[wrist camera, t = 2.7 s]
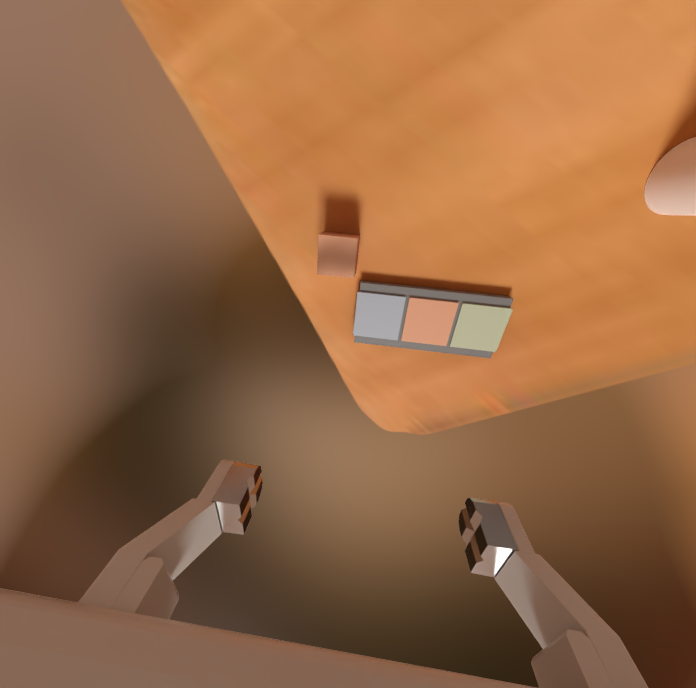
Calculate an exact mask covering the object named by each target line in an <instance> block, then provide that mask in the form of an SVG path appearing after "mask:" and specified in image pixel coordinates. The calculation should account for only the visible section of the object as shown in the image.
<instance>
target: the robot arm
mask: <svg viewBox="0 0 696 688" xmlns="http://www.w3.org/2000/svg"><path fill="white" fill-rule="evenodd" d="M261 472H262V470H261V466H259V465H253V464H247V463H242V462H236V461H230V460H222V461H221V462H220V463H219V464H218V466H217V467H216V469H215V471H214V472H213V474H212V475H211V477H210V479H209V480H208V482H207V483H206V485H205V486H204V488H203V490H202V491H201V493H200V494H199V496H198V497H197V499H191V500H190V501H188V502H187V503H185V504H184V505H183V506H181V507H180V508H178V509H177V510H176V511H174V512H172V513H171V514H170V515H168V516H167V517H165V518H164V519H162V520H161V521H159V522H158V523H156V524H155V525H154V526H152V527H151V528H149V529H148V530H146V531H145V532H143V533H142V534H141V535H139V536H138V537H136V538H135V539H133V540H132V541H130V542H129V543H127V544H126V545H125V546H123V547H122V548H120V549H119V550H118V551H117V553H116V554H115V555H114V557H113V558H112V559H111V560H110V562H109V563H108V564H107V566H106V567H105V568H104V570H103V571H102V572H101V574H100V575H99V576H98V578H97V579H96V580H95V581H94V583H93V584H92V585H91V586H90V588H89V589H88V590H87V592H86V593H85V594H84V596H83V597H82V598H81V599H80V601H79V602H78V603H77V602H71V601H66V600H61V599H55V598H49V597H44V596H38V595H33V594H28V593H22V592H17V591H12V590H6V589H0V688H535V687H529V686H524V685H519V684H514V683H508V682H502V681H497V680H492V679H486V678H481V677H475V676H470V675H465V674H459V673H454V672H448V671H443V670H438V669H433V668H427V667H422V666H416V665H411V664H406V663H400V662H395V661H389V660H384V659H378V658H373V657H368V656H362V655H357V654H352V653H346V652H341V651H336V650H330V649H325V648H319V647H314V646H308V645H303V644H298V643H292V642H287V641H282V640H276V639H270V638H265V637H259V636H255V635H249V634H244V633H238V632H233V631H227V630H222V629H216V628H211V627H206V626H201V625H195V624H190V623H185V622H179V621H173V620H169V618H170V616H171V614H172V612H173V610H174V608H175V606H176V604H177V602H178V600H179V596H178V592H177V590H176V588H175V586H174V584H173V580H174V579H175V578H176V577H177V576H178V575H179V574H180V573H181V572H182V571H183V570H184V569H185V568H186V567H187V566H188V565H189V564H190V563H191V562H192V561H193V560H194V559H195V558H197V557H198V556H199V555H200V554H201V553H202V552H203V551H204V550H205V549H206V548H207V547H208V546H209V545H210V544H211V543H212V542H213V541H214V540H215V539H216V538H217V537H218V536H219V535H220V534H221V532H229V533H237V534H243V535H244V534H245V531H246V529H247V526H248V524H249V522H250V519H251V517H252V513H251V508H253V507H254V506H255V505H256V504H257V502H258V500H259V497H260V494H261V490H262V483H263V482H262V478H261V477H260V474H261ZM465 505H466V508H464V509H462V510H461V512H460V514H459V530H460V534H461V537H462V539H463V540H464V541H465V542H466V544H467V547H466V549H465V553H466V557H467V561H468V565H469V569H470V572H471V573H475V574H480V575H486V576H491V577H496V578H495V580H496V581H497V583H498V584H499V586H500V587H501V589H502V590H503V592H504V593H505V594H506V596H507V597H508V599H509V600H510V602H511V603H512V605H513V606H514V607H515V609H516V610H517V612H518V613H519V615H520V616H521V618H522V619H523V621H524V622H525V623H526V625H527V626H528V628H529V629H530V631H531V632H532V634H533V635H534V637H535V638H536V639H537V641H538V642H539V644H540V645H541V647H542V648H543V650H542V651H541V652H539V653H538V654H537V655H536V656H535V657H533V660H532V661H531V664H532V667H533V670H534V673H535V676H536V679H537V682H538V685H539V688H648V686H647V685H646V683H645V681H644V679H643V678H642V676H641V674H640V672H639V671H638V669H637V667H636V665H635V664H634V662H633V660H632V658H631V657H630V655H629V653H628V651H627V649H626V648H625V646H624V644H623V643H622V641H621V639H620V637H619V636H618V635H617V634H616V633H615V632H614V631H613V630H612V629H611V628H610V627H609V626H608V625H607V624H606V623H605V622H604V621H603V620H602V619H601V618H600V617H599V616H598V614H597V613H596V612H595V611H594V610H593V609H592V608H591V607H590V606H589V605H588V604H587V603H586V602H585V601H584V600H583V599H582V598H581V597H580V596H579V595H578V594H577V593H576V592H575V591H574V590H573V589H572V588H571V587H570V586H569V585H568V584H567V583H566V582H565V580H563V579H562V577H561V576H560V575H559V574H558V573H557V572H556V571H555V570H554V569H553V568H552V567H551V566H550V565H549V564H548V563H547V562H546V561H545V560H544V559H543V558H542V557H541V556H540V555H538V554H535V553H534V550H533V548H532V546H531V544H530V542H529V540H528V537H527V536H526V533H525V531H524V530H523V527H522V525H521V523H520V520H519V518H518V516H517V514H516V512H515V510H514V508H513V506H512V505H511V504H509V503H502V502H495V501H491V500H484V499H476V498H468V499H467V500H466V502H465Z"/></svg>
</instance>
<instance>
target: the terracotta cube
mask: <svg viewBox="0 0 696 688" xmlns="http://www.w3.org/2000/svg"><path fill="white" fill-rule="evenodd" d="M359 239H360V235H357V234H346V233H336V232H326V231H325V232H323V233H321V234H318V268H317V274H320V275H329V276H339V277H348V278H354V277H355V274H356V270H357V260H358V249H359Z"/></svg>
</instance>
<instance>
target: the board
mask: <svg viewBox="0 0 696 688" xmlns="http://www.w3.org/2000/svg"><path fill="white" fill-rule="evenodd" d="M512 301H513V298H511V297H510V296H503V295H494V294H484V293H475V292H466V291H456V290H447V289H438V288H428V287H419V286H409V285H400V284H391V283H381V282H372V281H363V280H361V282H360V292H359V291H358V293H357V302H356V312H355V322H354V332H353V335H355V339H354V342H358V343H366V344H374V345H383V346H391V347H400V348H408V349H417V350H425V351H433V352H442V353H450V354H459V355H467V356H476V357H484V358H491V355H492V353H493V352H496V350H497V348H498V345H499V343H500V340H501V338H502V335H503V333H504V330H505V328H506V325H507V323H508V320H509V318H510V315H511V313H512V310H513V309H512V308H510V307H511V304H512Z"/></svg>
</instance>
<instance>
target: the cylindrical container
mask: <svg viewBox="0 0 696 688" xmlns="http://www.w3.org/2000/svg"><path fill="white" fill-rule="evenodd" d="M644 198H645V202H646V204H647V206H648V207H649V209H651V210H652V211H653V212H655V213H658V214H662V215H694V216H696V137H693V138H690V139H688V140H686V141H684V142H682V143H680V144H678V145H677V146H675V147H674V148H672V149H671V150H670V151H669V152H667V153H666V154H665V155H664V156H663V157H662V158H661V159H660V160H659V161H658V163H657V164H656V165H655V167H654V168H653V170H652V171H651V173H650V175H649V177H648V179H647V182H646V185H645V191H644Z"/></svg>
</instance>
